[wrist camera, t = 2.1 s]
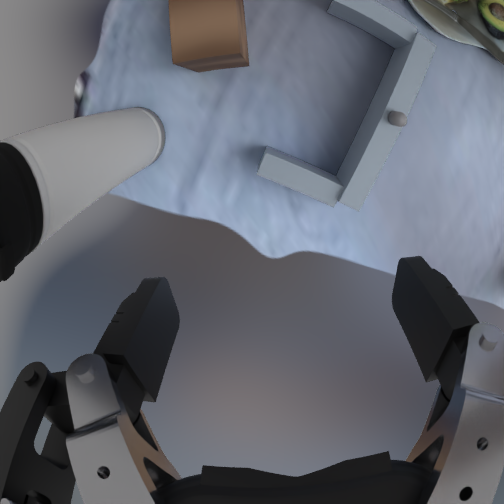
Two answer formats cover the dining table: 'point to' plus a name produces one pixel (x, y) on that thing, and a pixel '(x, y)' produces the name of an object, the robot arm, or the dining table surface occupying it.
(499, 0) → the salad plate
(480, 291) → the dining table surface
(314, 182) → the gray u-shaped bracket
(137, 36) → the dining table surface
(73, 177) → the travel mug
